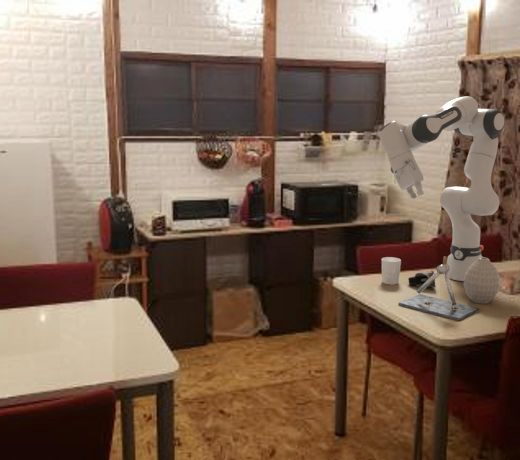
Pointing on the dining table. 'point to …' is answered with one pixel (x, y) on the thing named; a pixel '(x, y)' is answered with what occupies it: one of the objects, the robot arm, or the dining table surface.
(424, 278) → the caster wheel
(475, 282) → the vase
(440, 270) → the leg
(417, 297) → the blue and grey frame
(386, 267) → the white cup
